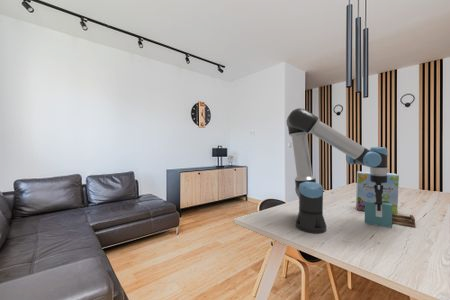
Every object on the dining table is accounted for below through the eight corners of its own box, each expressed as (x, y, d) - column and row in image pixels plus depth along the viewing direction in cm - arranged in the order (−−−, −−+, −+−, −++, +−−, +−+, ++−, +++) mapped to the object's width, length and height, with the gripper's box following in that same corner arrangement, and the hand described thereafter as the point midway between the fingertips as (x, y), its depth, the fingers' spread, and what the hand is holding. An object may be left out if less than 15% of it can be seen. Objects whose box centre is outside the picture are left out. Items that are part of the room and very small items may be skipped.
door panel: (391, 227, 108) (392, 205, 108) (364, 222, 116) (364, 201, 115) (391, 225, 112) (391, 203, 111) (364, 220, 119) (365, 200, 119)
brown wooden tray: (412, 221, 118) (412, 214, 118) (415, 227, 108) (415, 220, 108) (373, 214, 128) (373, 208, 128) (373, 220, 119) (373, 213, 119)
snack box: (356, 210, 136) (357, 172, 136) (355, 207, 144) (356, 171, 143) (398, 216, 126) (399, 174, 126) (394, 212, 134) (395, 173, 133)
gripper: (388, 178, 101) (388, 221, 101) (386, 172, 121) (386, 208, 121) (369, 177, 105) (369, 218, 106) (370, 171, 125) (370, 206, 126)
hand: (378, 213), depth 113 cm, fingers open, 13 cm apart
